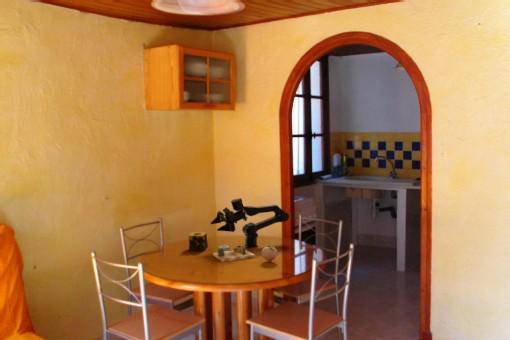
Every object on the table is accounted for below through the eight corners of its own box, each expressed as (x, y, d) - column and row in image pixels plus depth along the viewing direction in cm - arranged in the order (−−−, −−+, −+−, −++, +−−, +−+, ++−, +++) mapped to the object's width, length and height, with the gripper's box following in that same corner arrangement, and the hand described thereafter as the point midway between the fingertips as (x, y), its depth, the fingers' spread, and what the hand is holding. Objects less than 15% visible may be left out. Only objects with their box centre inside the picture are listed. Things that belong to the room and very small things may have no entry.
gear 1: (227, 249, 306) (227, 244, 306) (231, 252, 300) (231, 247, 300) (216, 250, 303) (216, 246, 303) (220, 253, 297) (220, 248, 297)
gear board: (244, 251, 301) (243, 243, 301) (254, 257, 287) (254, 248, 286) (213, 255, 293) (213, 247, 292) (222, 261, 278) (222, 253, 278)
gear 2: (241, 249, 300) (240, 244, 299) (247, 251, 294) (247, 246, 294) (231, 251, 296) (231, 246, 295) (237, 253, 290) (237, 248, 290)
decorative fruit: (258, 261, 277) (258, 244, 276) (269, 259, 282) (269, 241, 281) (268, 265, 270) (268, 247, 269) (280, 262, 275) (280, 244, 274)
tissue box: (208, 247, 313) (207, 231, 312) (204, 251, 303) (204, 235, 302) (192, 247, 314) (191, 231, 313) (188, 251, 304) (188, 235, 303)
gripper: (226, 200, 310) (204, 209, 304) (241, 212, 296) (218, 222, 289) (229, 214, 315) (208, 224, 309) (244, 227, 301) (221, 237, 294)
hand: (213, 226), depth 300 cm, fingers open, 9 cm apart
